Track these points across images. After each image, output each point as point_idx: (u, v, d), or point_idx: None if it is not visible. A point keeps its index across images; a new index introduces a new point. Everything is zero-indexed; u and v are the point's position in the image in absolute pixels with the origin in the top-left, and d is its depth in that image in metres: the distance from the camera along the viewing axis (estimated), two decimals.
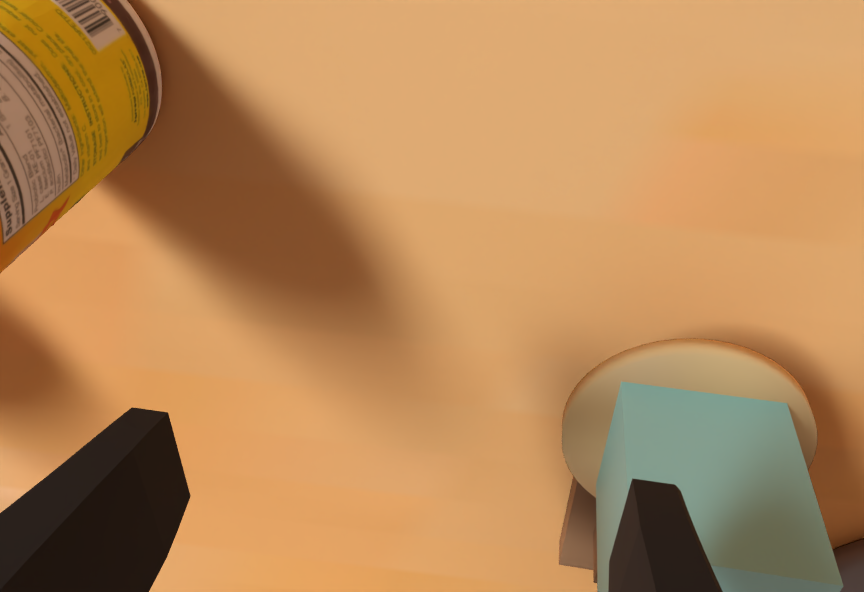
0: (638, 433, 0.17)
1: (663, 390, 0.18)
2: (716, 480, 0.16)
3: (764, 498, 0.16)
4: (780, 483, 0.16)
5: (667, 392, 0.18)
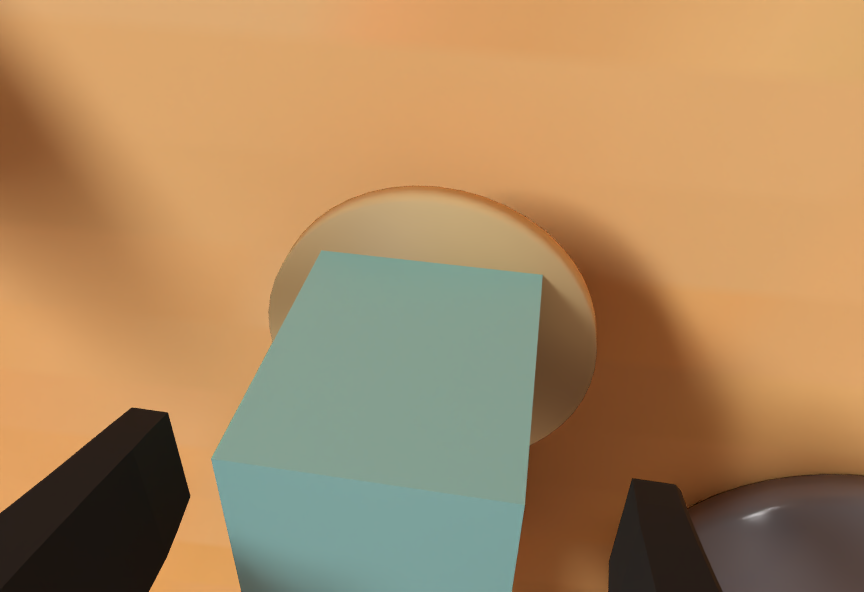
0: (311, 308, 0.12)
1: (375, 260, 0.13)
2: (394, 364, 0.11)
3: (455, 388, 0.11)
4: (488, 369, 0.11)
5: (380, 262, 0.13)
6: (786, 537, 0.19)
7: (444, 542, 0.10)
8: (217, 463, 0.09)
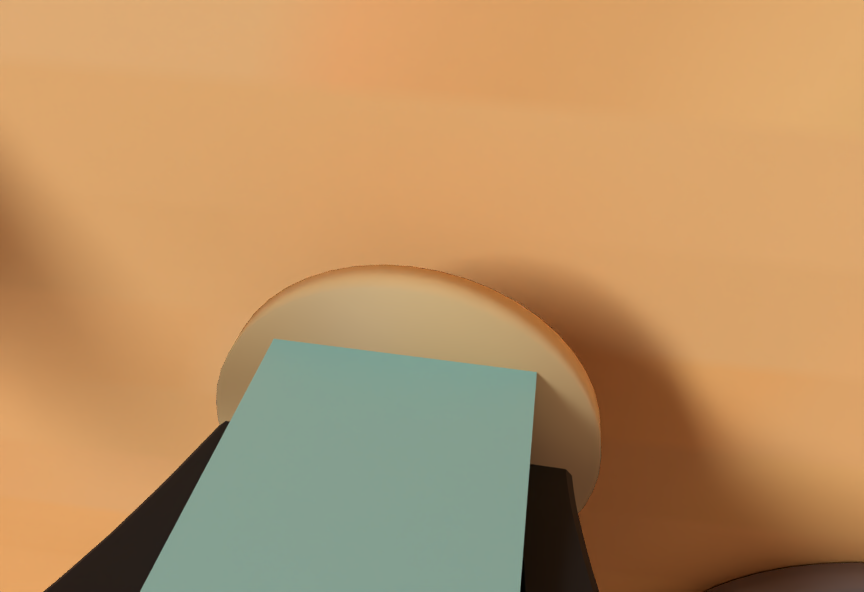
0: (254, 423, 0.10)
1: (337, 352, 0.11)
2: (350, 507, 0.09)
3: (425, 541, 0.08)
4: (467, 512, 0.09)
5: (342, 355, 0.11)
6: None
7: None
8: None
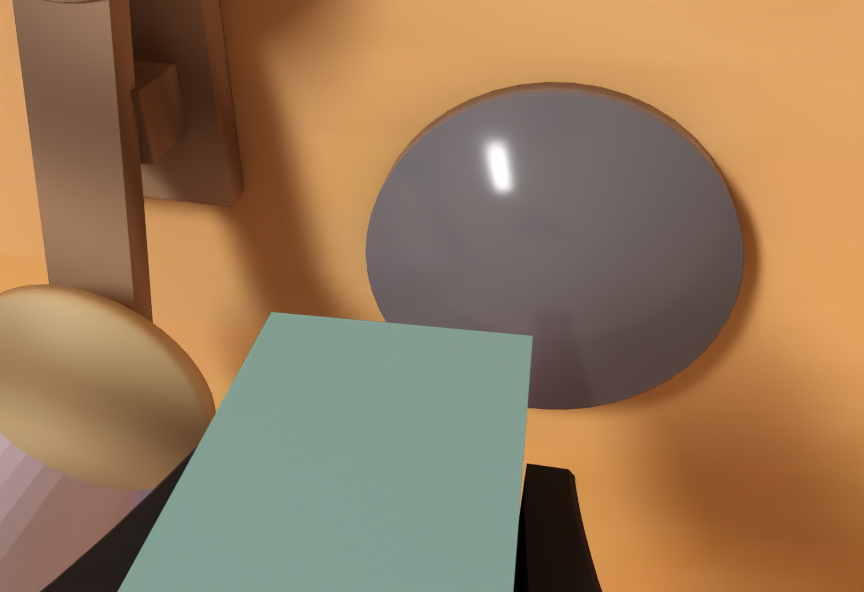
0: (252, 390, 0.10)
1: (334, 322, 0.11)
2: (348, 465, 0.09)
3: (422, 495, 0.09)
4: (464, 468, 0.09)
5: (340, 325, 0.11)
6: (484, 152, 0.18)
7: None
8: None
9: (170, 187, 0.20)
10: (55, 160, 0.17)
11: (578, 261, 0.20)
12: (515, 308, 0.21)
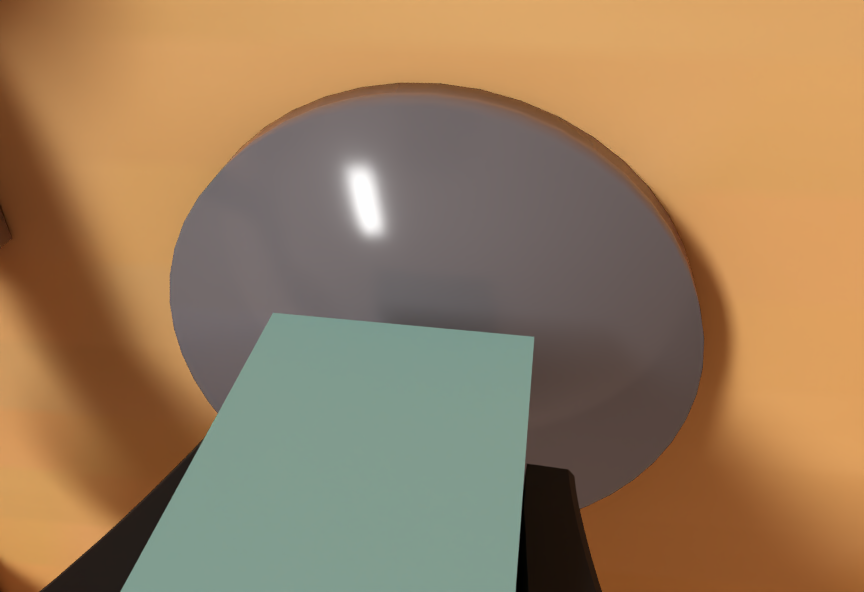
0: (254, 391, 0.10)
1: (335, 323, 0.11)
2: (350, 467, 0.09)
3: (425, 497, 0.09)
4: (466, 469, 0.09)
5: (341, 325, 0.11)
6: (310, 189, 0.12)
7: None
8: None
9: None
10: None
11: None
12: None
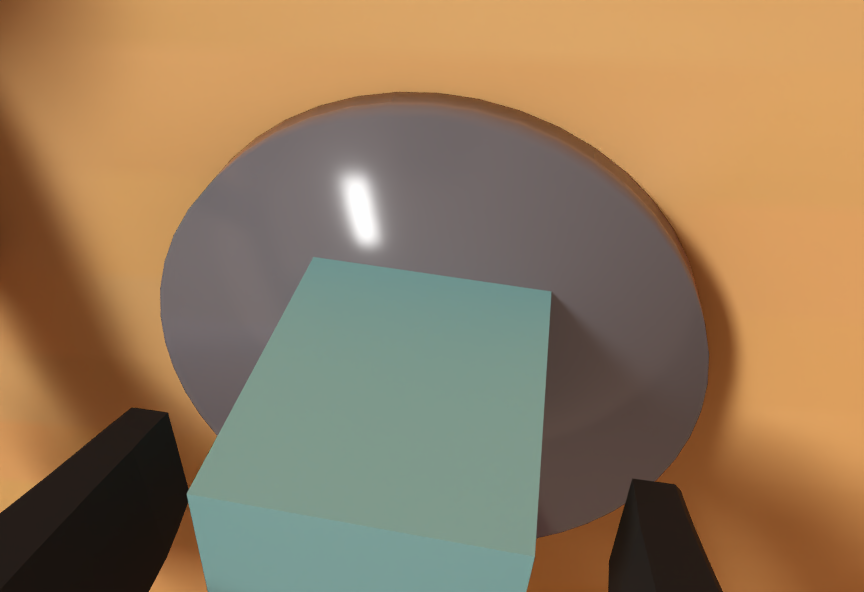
0: (301, 322, 0.11)
1: (371, 269, 0.12)
2: (390, 389, 0.10)
3: (457, 417, 0.10)
4: (493, 397, 0.10)
5: (376, 272, 0.12)
6: (303, 200, 0.12)
7: (442, 590, 0.09)
8: (193, 498, 0.09)
9: None
10: None
11: None
12: None
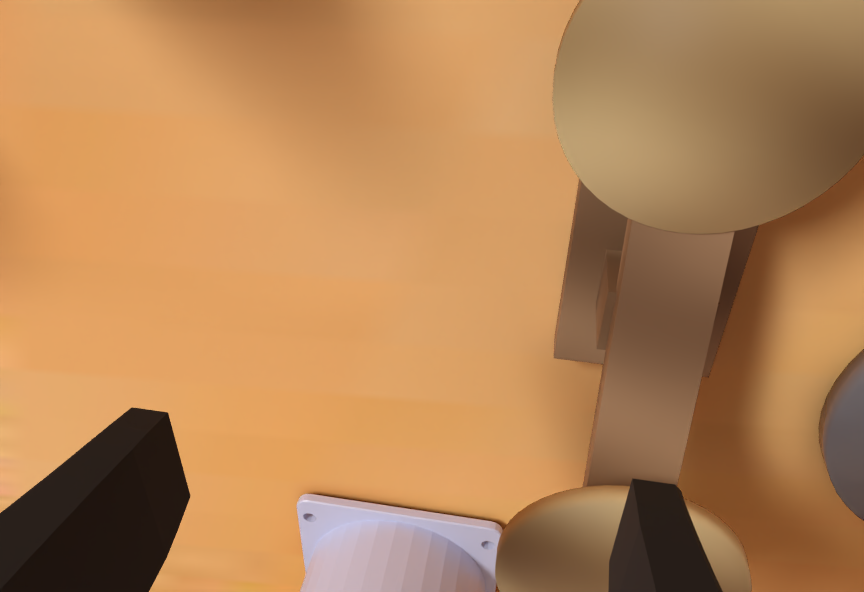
0: None
1: None
2: None
3: None
4: None
5: None
6: None
7: None
8: None
9: None
10: (631, 366, 0.18)
11: None
12: None
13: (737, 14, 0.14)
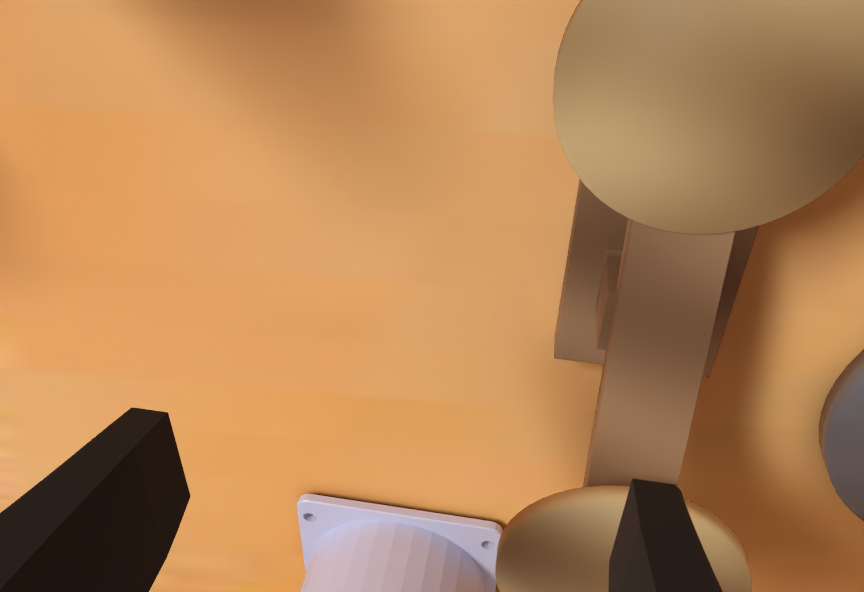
0: None
1: None
2: None
3: None
4: None
5: None
6: None
7: None
8: None
9: None
10: (631, 367, 0.18)
11: None
12: None
13: (738, 14, 0.14)
